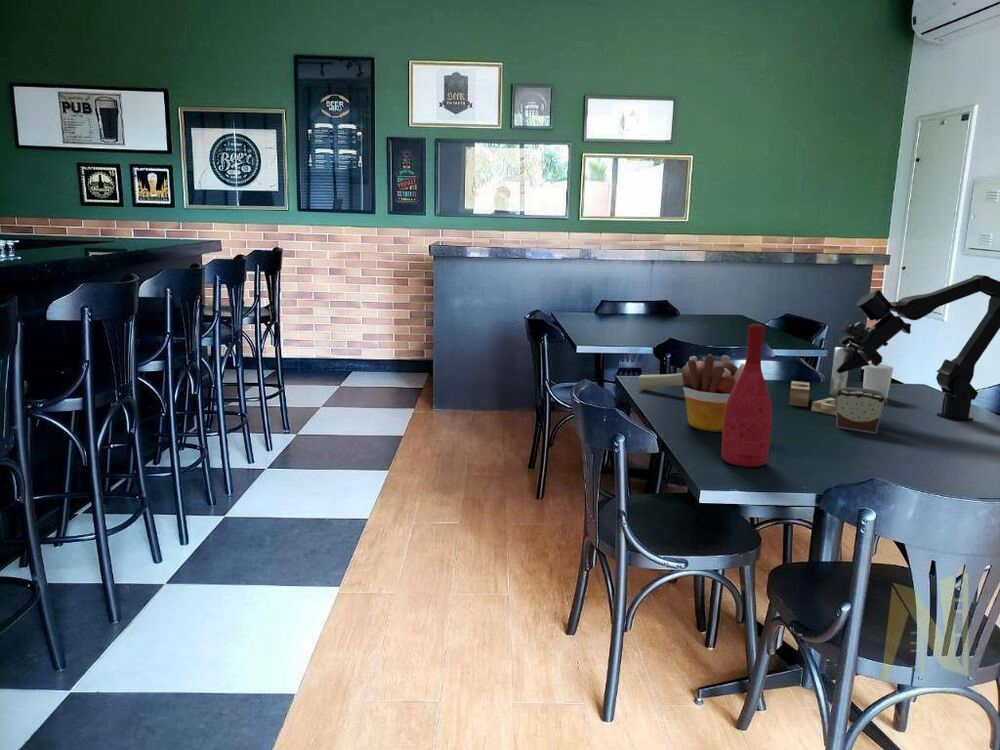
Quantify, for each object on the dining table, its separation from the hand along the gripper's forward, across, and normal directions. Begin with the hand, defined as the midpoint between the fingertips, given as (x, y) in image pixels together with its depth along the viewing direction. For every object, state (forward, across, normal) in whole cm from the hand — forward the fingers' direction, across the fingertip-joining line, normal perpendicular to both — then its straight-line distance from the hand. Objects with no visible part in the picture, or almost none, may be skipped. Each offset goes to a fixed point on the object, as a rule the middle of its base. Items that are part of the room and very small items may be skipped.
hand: (835, 370), depth 205 cm
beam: (+12, -11, +4) cm, 17 cm away
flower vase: (+34, -9, -18) cm, 40 cm away
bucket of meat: (+35, +25, -18) cm, 46 cm away
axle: (+4, 0, +6) cm, 7 cm away
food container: (+8, +17, +10) cm, 21 cm away
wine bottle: (+33, +53, -16) cm, 65 cm away
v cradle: (+9, 0, +8) cm, 12 cm away
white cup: (-6, -22, +23) cm, 33 cm away
